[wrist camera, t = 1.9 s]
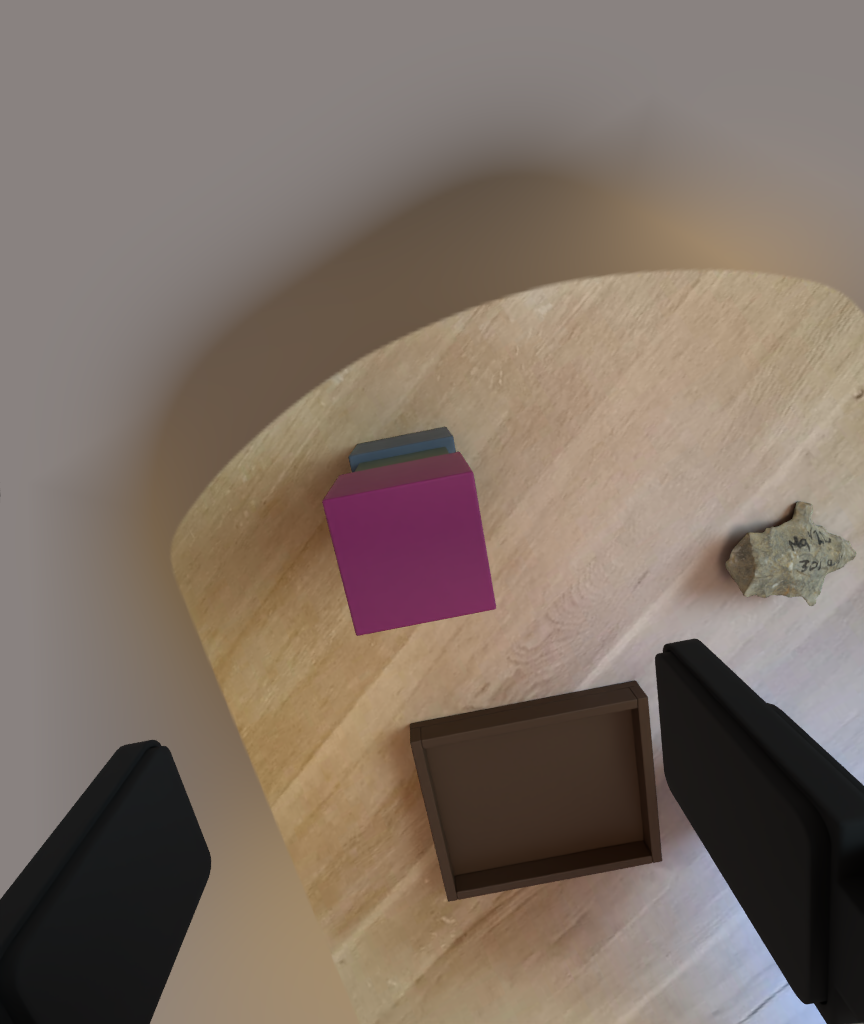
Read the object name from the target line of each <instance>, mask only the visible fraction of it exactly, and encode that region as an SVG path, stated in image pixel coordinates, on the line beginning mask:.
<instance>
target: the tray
mask: <svg viewBox="0 0 864 1024" xmlns="http://www.w3.org/2000/svg"><path fill="white" fill-rule="evenodd" d="M410 744H411V748H412V752H413V756H414V760H415V765H416V769H417V773H418V777H419V781H420V786H421V790H422V794H423V798H424V802H425V807H426V811H427V815H428V819H429V823H430V828H431V832H432V836H433V840H434V844H435V849H436V853H437V857H438V861H439V865H440V869H441V874H442V878H443V882H444V886H445V890H446V895H447V899H448V901H454V900H457V899H464V898H470V897H475V896H480V895H486V894H491V893H496V892H501V891H507V890H512V889H517V888H523V887H528V886H533V885H538V884H544V883H549V882H554V881H560V880H565V879H570V878H575V877H581V876H586V875H591V874H597V873H602V872H607V871H612V870H618V869H623V868H628V867H634V866H639V865H644V864H650V863H652V862H653V863H655V862H660V861H662V854H661V843H660V831H659V820H658V808H657V797H656V786H655V774H654V763H653V751H652V740H651V728H650V717H649V705H648V697H647V696H646V694H645V693H644V691H643V690H642V689H641V687H640V686H639V684H638V683H637V682H636V681H632V682H627V683H621V684H616V685H611V686H606V687H600V688H595V689H590V690H585V691H580V692H574V693H569V694H564V695H559V696H553V697H548V698H543V699H538V700H533V701H527V702H522V703H517V704H512V705H507V706H501V707H496V708H491V709H486V710H480V711H475V712H470V713H465V714H460V715H454V716H449V717H444V718H439V719H433V720H428V721H423V722H418V723H413V724H410Z"/></svg>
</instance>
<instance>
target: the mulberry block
mask: <svg viewBox="0 0 864 1024" xmlns="http://www.w3.org/2000/svg"><path fill="white" fill-rule="evenodd" d="M322 503H323V507H324V511H325V515H326V519H327V523H328V527H329V531H330V535H331V539H332V543H333V547H334V551H335V554H336V558H337V562H338V566H339V570H340V574H341V578H342V582H343V586H344V590H345V594H346V598H347V601H348V605H349V609H350V613H351V617H352V621H353V625H354V629H355V633H356V635H357V636H359V635H364V634H369V633H374V632H380V631H385V630H390V629H395V628H400V627H406V626H411V625H416V624H421V623H426V622H431V621H437V620H442V619H447V618H452V617H457V616H463V615H468V614H473V613H478V612H483V611H488V610H494V609H496V604H495V598H494V592H493V586H492V580H491V574H490V568H489V562H488V557H487V551H486V545H485V539H484V533H483V527H482V521H481V516H480V510H479V504H478V498H477V492H476V486H475V480H474V474H473V472H472V470H471V469H470V467H469V465H468V464H467V462H466V461H465V459H464V458H463V456H462V455H461V453H460V452H455V453H450V454H444V455H439V456H434V457H429V458H424V459H419V460H414V461H409V462H404V463H398V464H393V465H388V466H383V467H378V468H373V469H368V470H363V471H357V472H352V473H347V474H342V475H339V476H338V478H337V479H336V481H335V482H334V484H333V486H332V487H331V489H330V490H329V492H328V493H327V495H326V496H325V498H324V499H323V501H322Z"/></svg>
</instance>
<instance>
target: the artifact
mask: <svg viewBox="0 0 864 1024" xmlns="http://www.w3.org/2000/svg"><path fill="white" fill-rule="evenodd" d="M812 512H813V508H812V504H808V503H803V502H797V504H796V507H795V509H794V515H793V518H792V520H790V521H788V522H785V523H783V524H782V525H780V526H778V527H773V526H772V527H771V528H766V530H765V532H763V533H751V532H749V533H747V535H746V536H745V537H744V538H743V539H742V540H741V541H739V543H738V544H737V545H736V546H735V547H734V549H733V550H732V553H731V555H730V559H729V560H728V561H726V569H727V570H728V571H729V572H730V574H731V577H732V578H733V579H734V580H735V581H736V583H737V584H738V586H739V588H740V590H741V591H742V593H743V595H744V596H746V597H750V596H753V595H757V596H760V597H763V598H766V597H769V596H770V595H783V596H787V597H796V596H801V597H803V598H804V599H805V600H806V602H807V603H808V605H809V606H813V605H815V604H816V598H817V597H818V595H819V594H820V592H821V588H822V585H823V582H824V578H825V576H826V575H827V574H828V573H830V572H833V571H835V570H837V569H840V568H842V567H844V565H845V564H846V563H847V562H849V561H851V560H853V559H854V557H855V556H856V552H855V551H854V550H853V549H852V547H851V545H850V543H849V541H848V542H847V541H844V540H843V539H842V538H841V537H839V536H836V535H832V534H829V533H827V532H826V530H825V529H824V528H823V527H822V526H821V527H817V526H816V525H815V524H814V523H812V520H811V515H812Z"/></svg>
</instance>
